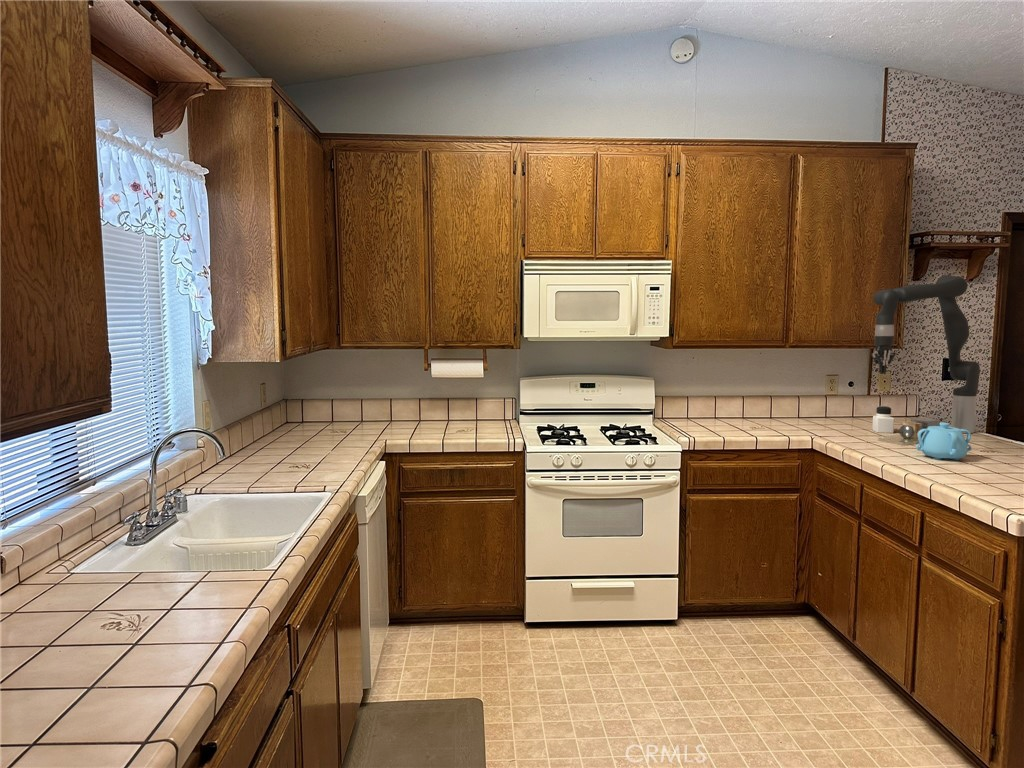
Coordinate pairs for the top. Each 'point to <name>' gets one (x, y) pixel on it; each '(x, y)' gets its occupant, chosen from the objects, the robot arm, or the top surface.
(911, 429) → the shaft
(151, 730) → the top surface
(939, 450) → the decorative pot
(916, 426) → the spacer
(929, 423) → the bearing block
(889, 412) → the medicine bottle
